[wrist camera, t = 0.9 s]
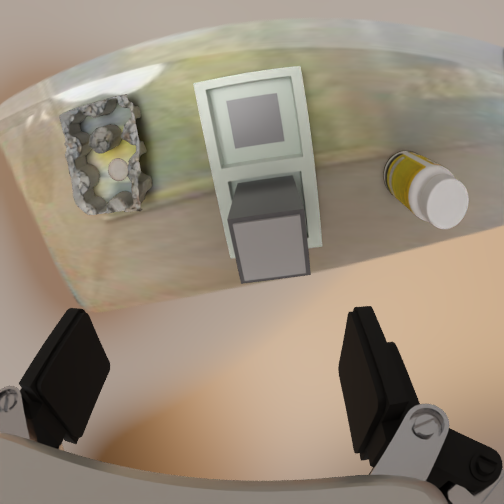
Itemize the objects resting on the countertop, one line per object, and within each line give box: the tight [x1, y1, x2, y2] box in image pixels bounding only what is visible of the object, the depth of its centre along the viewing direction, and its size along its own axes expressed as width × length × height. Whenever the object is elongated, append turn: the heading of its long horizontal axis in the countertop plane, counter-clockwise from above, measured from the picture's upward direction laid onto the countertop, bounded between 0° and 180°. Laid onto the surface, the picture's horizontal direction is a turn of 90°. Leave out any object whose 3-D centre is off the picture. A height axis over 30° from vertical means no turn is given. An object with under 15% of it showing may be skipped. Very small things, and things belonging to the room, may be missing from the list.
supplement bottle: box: [384, 151, 469, 229], centre depth 23 cm, size 5×5×8 cm
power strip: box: [193, 66, 322, 258], centre depth 25 cm, size 15×8×4 cm, turn 9°
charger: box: [227, 175, 311, 284], centre depth 23 cm, size 5×5×8 cm
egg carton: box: [59, 94, 152, 215], centre depth 25 cm, size 11×8×4 cm
